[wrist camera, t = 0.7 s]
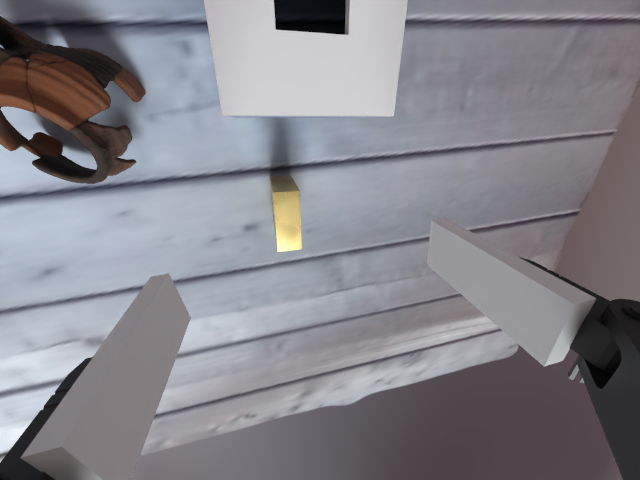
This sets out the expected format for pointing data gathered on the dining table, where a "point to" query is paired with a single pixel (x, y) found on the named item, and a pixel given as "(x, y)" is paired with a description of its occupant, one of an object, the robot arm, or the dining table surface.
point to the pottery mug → (63, 103)
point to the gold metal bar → (286, 213)
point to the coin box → (306, 61)
